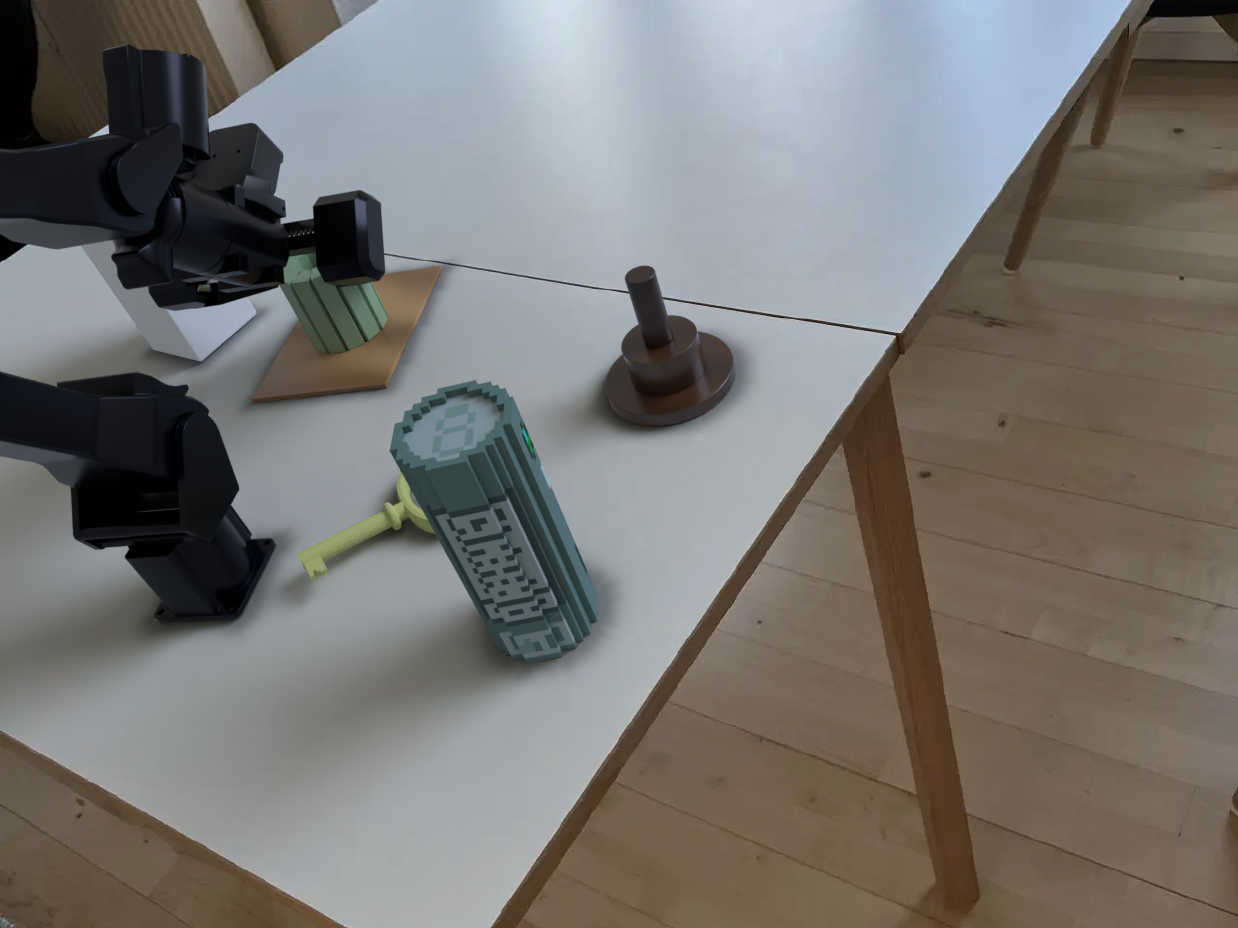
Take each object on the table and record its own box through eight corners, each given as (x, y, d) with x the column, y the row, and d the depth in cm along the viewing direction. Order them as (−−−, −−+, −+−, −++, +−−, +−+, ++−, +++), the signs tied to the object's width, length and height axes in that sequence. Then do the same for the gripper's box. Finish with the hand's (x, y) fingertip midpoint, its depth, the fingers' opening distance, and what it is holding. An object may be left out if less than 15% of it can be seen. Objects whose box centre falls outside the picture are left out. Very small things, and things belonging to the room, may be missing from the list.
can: (596, 567, 63) (514, 370, 53) (597, 649, 58) (508, 451, 48) (498, 586, 64) (399, 397, 54) (492, 669, 59) (383, 479, 49)
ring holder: (730, 419, 69) (702, 307, 63) (598, 432, 72) (559, 325, 66) (740, 334, 75) (715, 225, 70) (619, 348, 78) (584, 244, 72)
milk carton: (258, 314, 96) (142, 120, 84) (201, 364, 92) (71, 168, 80) (210, 305, 100) (92, 118, 88) (154, 352, 96) (22, 163, 84)
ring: (403, 313, 89) (368, 241, 84) (345, 360, 86) (306, 289, 81) (354, 298, 93) (319, 230, 88) (298, 343, 90) (258, 275, 85)
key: (299, 580, 69) (284, 558, 67) (435, 459, 74) (423, 437, 73) (365, 624, 64) (350, 602, 63) (504, 492, 70) (493, 469, 68)
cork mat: (387, 387, 82) (384, 383, 82) (253, 403, 86) (251, 399, 85) (442, 269, 93) (440, 265, 93) (322, 286, 97) (320, 283, 97)
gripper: (311, 86, 69) (423, 156, 84) (78, 135, 75) (222, 193, 89) (322, 256, 69) (432, 297, 84) (86, 294, 74) (230, 325, 89)
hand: (325, 273), depth 86 cm, fingers open, 9 cm apart
